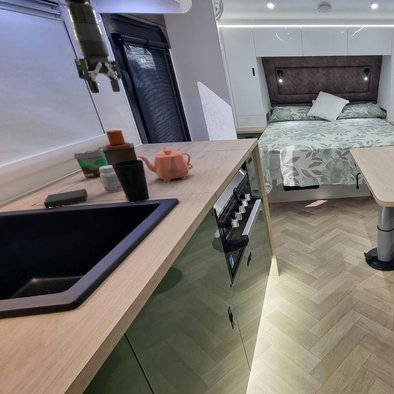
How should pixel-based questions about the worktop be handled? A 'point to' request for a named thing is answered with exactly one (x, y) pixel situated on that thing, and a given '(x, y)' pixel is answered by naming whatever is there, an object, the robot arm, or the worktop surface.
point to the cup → (132, 179)
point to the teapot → (169, 164)
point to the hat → (116, 140)
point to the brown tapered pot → (119, 154)
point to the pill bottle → (109, 179)
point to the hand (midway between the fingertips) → (106, 92)
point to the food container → (91, 162)
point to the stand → (66, 198)
